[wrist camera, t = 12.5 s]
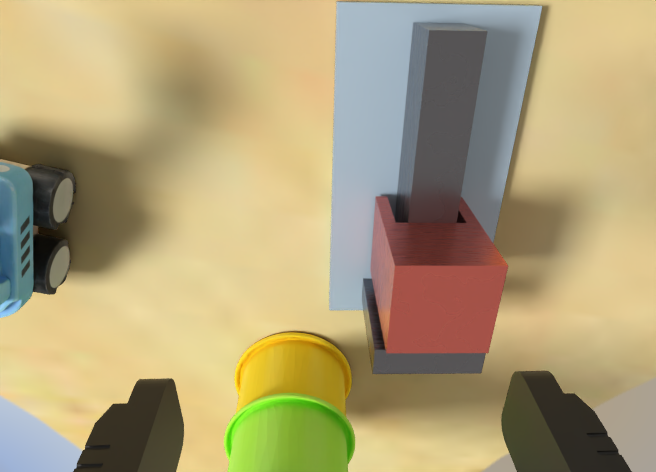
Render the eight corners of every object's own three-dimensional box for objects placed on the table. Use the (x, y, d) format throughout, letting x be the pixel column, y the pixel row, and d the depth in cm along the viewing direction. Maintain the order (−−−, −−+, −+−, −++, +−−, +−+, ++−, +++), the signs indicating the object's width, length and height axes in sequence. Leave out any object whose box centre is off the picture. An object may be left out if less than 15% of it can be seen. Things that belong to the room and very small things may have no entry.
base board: (336, 1, 29) (337, 2, 28) (535, 5, 29) (542, 6, 28) (329, 302, 39) (329, 310, 38) (475, 302, 40) (479, 309, 39)
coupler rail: (379, 21, 28) (400, 37, 21) (497, 23, 29) (556, 39, 22) (361, 299, 38) (372, 373, 31) (450, 299, 38) (480, 373, 31)
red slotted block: (375, 196, 33) (394, 265, 25) (462, 197, 33) (508, 265, 26) (370, 270, 36) (386, 353, 28) (449, 270, 36) (488, 352, 28)
